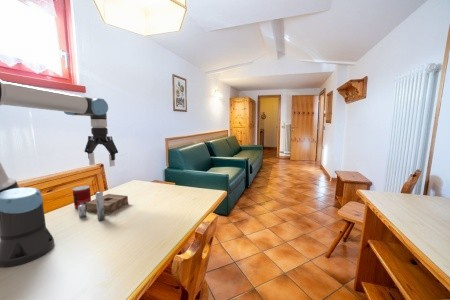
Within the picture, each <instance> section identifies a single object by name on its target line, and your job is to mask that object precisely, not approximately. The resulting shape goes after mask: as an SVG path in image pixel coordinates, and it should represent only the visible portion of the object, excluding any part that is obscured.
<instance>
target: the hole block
mask: <svg viewBox="0 0 450 300" xmlns="http://www.w3.org/2000/svg"><path fill="white" fill-rule="evenodd" d="M128 198H129V197H128V195H123V194H113V193H107V194H103V201H104V212H105V216H107V215H111V214H113V213H115V212H116V211H118V210H120V209H121V208H123V207H125V206H127V205H129V200H128ZM86 204H87V207H86V213H87V212H88V213H95V214H97V205H96V198H94V199H93V200H92V199H91V201H90V202H87V203H86Z"/></svg>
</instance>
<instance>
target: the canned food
mask: <svg viewBox="0 0 450 300" xmlns="http://www.w3.org/2000/svg"><path fill="white" fill-rule="evenodd" d="M91 195H92V194H91V187H90V185H80V186H77V187H73V188H72V196H73V198H72V199H73V205H74V208H75V209H77V210H78V206H79V205H82V204H85V207H86V208H87V204H86V203H87V202H90V201H92V196H91Z"/></svg>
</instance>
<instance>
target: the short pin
mask: <svg viewBox="0 0 450 300" xmlns="http://www.w3.org/2000/svg"><path fill="white" fill-rule="evenodd" d="M77 211H78V218H79V219H83V218H86V217H87V207H85V204H82V205H79V206H78V209H77Z"/></svg>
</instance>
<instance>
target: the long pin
mask: <svg viewBox="0 0 450 300" xmlns="http://www.w3.org/2000/svg"><path fill="white" fill-rule="evenodd" d="M94 194H95V199H96V205H97V213H96V214H97V215H96V216H97V221H98V222H102V221H105V220H106V214H105V212H104V201H103V196H104V192H103V191H102V190H101V191H96V192H95V193H94Z"/></svg>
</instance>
